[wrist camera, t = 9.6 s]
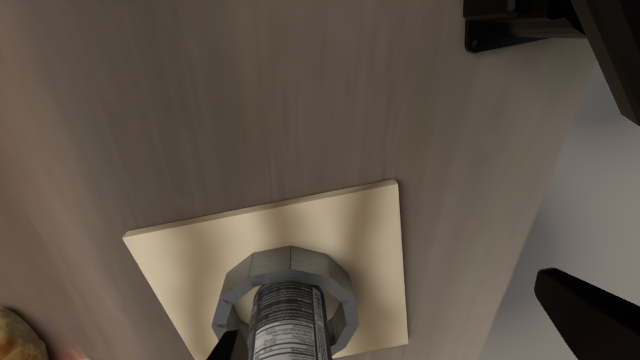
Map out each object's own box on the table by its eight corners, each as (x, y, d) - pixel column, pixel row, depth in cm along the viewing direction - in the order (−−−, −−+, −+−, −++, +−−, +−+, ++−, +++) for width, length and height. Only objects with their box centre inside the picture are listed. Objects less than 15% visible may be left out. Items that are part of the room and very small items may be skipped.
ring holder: (394, 179, 22) (410, 201, 19) (405, 336, 30) (417, 369, 27) (127, 231, 22) (101, 262, 19) (210, 373, 30) (201, 411, 27)
